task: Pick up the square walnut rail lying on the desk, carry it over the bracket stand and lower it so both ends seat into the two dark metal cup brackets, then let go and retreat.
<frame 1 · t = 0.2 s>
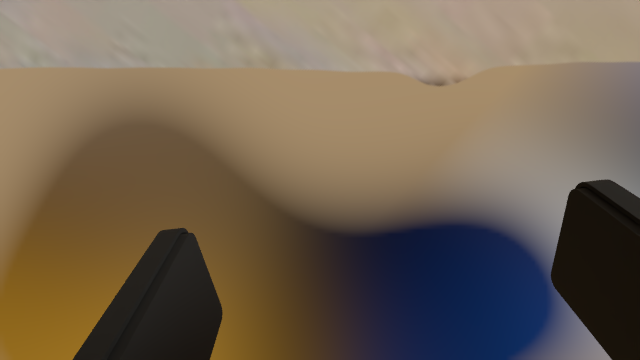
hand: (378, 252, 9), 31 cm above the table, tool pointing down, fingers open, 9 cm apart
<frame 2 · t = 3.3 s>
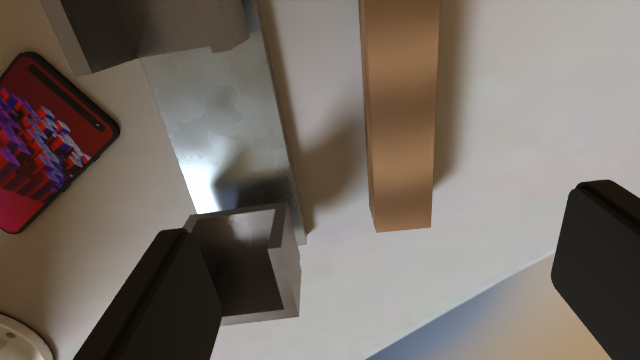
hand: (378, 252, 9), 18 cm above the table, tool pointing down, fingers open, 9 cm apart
smartphone: (28, 150, 27), on the table
bracket stand: (227, 121, 26), on the table
rail: (390, 95, 25), on the table
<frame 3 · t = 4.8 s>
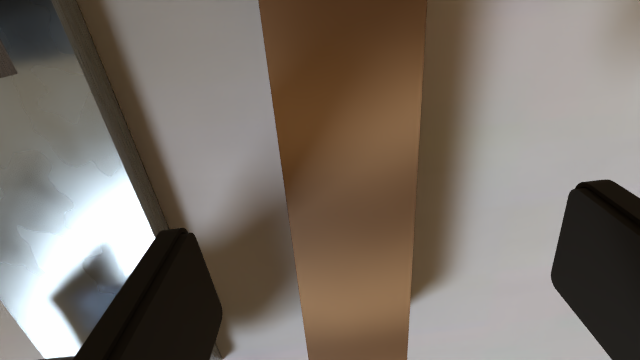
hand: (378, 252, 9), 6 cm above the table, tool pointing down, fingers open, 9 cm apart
bracket stand: (62, 203, 15), on the table
rail: (342, 162, 15), on the table
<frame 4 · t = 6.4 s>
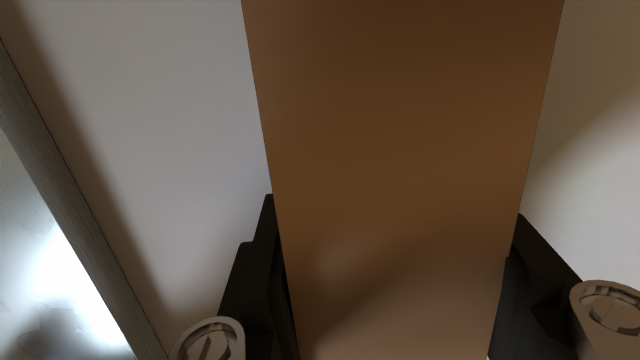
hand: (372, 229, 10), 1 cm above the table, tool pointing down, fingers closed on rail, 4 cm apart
rail: (369, 214, 11), on the table, touching gripper
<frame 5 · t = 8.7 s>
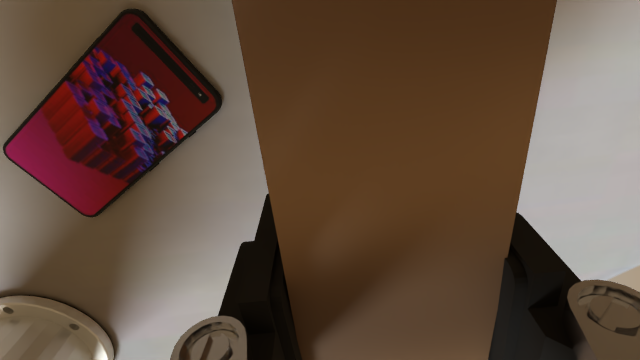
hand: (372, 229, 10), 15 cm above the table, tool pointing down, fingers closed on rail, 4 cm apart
smartphone: (114, 123, 25), on the table
rail: (369, 214, 11), point 14 cm above the table, touching gripper
when the fingers open (6 cm above the table, at t = 11.0 s): rail stays where it is, resting on bracket stand.
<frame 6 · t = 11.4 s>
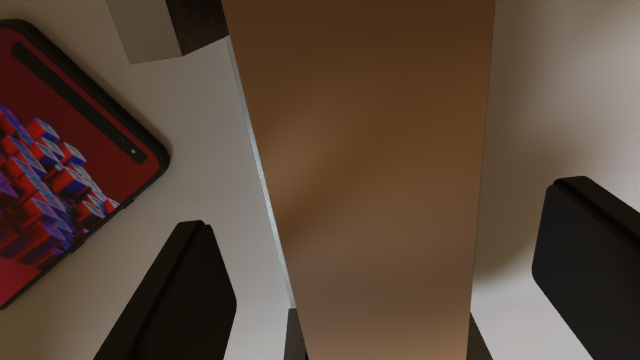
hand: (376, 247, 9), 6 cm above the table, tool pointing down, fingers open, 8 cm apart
smartphone: (14, 187, 17), on the table
bracket stand: (355, 150, 15), on the table
rail: (363, 201, 11), point 4 cm above the table, touching bracket stand
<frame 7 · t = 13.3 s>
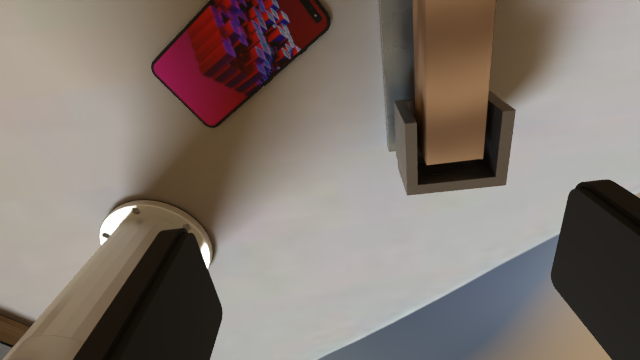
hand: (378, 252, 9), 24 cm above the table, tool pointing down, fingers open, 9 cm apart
smartphone: (239, 45, 30), on the table
bracket stand: (430, 15, 28), on the table
rail: (442, 23, 25), point 4 cm above the table, touching bracket stand
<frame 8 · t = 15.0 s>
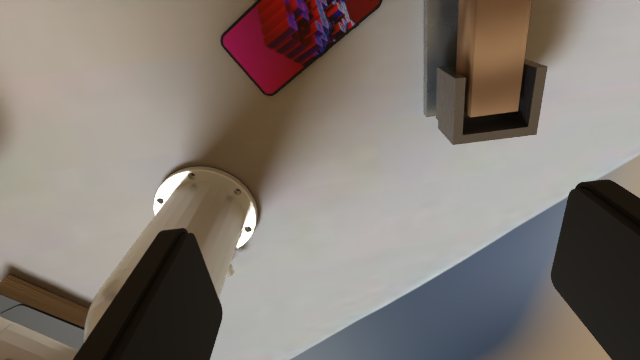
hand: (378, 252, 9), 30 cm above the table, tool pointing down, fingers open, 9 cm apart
smartphone: (299, 20, 35), on the table
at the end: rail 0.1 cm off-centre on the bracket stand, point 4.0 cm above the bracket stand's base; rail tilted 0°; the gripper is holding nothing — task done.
